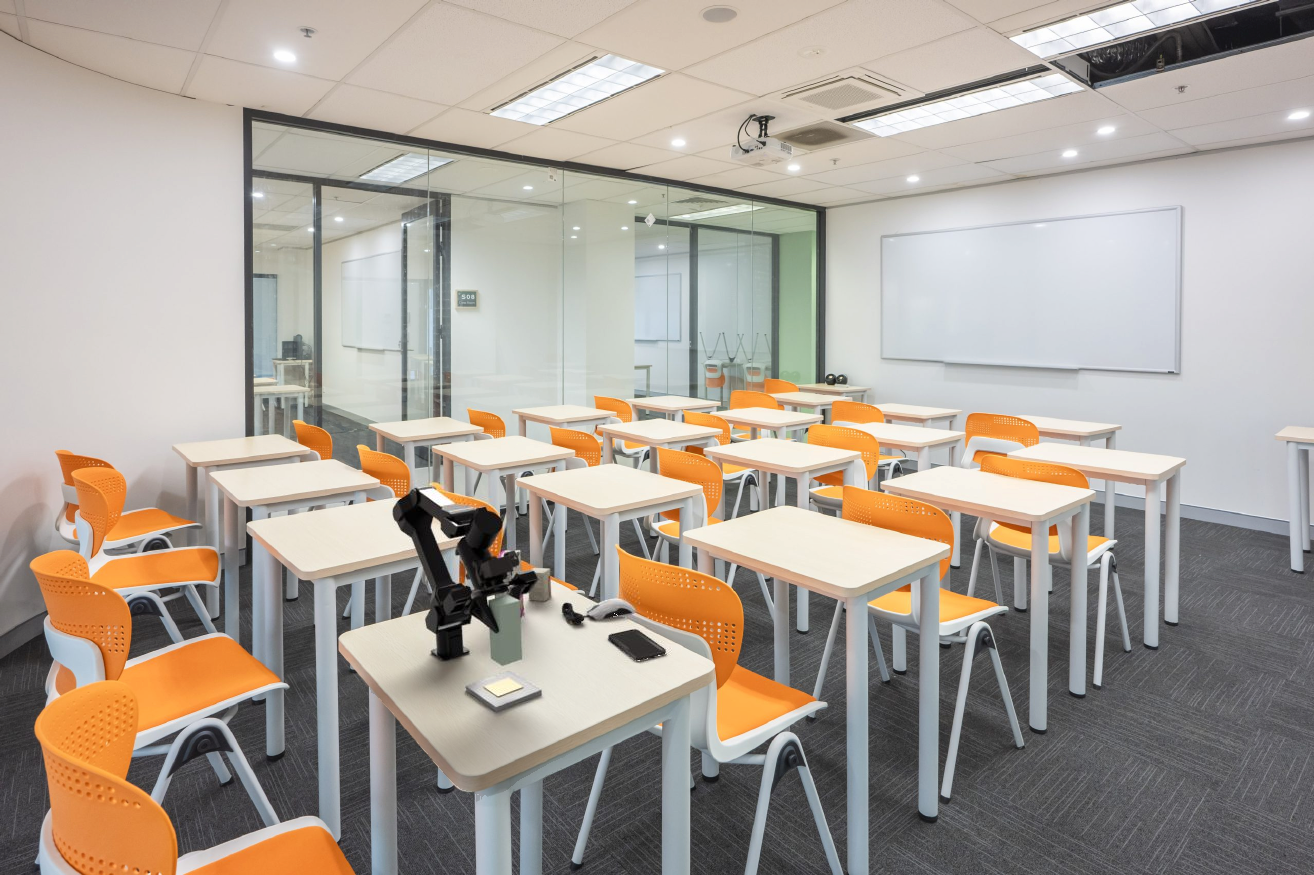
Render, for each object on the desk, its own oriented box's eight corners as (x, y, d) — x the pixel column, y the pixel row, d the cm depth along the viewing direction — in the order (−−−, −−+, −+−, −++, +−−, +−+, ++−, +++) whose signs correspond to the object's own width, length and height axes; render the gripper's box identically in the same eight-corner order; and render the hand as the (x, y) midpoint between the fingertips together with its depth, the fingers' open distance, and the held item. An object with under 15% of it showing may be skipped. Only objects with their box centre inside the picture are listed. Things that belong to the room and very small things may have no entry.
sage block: (490, 658, 144) (488, 600, 142) (510, 652, 146) (508, 594, 145) (502, 666, 140) (499, 606, 139) (522, 659, 143) (519, 600, 142)
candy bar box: (505, 611, 188) (502, 549, 186) (524, 611, 188) (521, 549, 186) (494, 628, 177) (491, 563, 175) (515, 628, 177) (512, 562, 175)
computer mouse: (640, 617, 183) (640, 602, 183) (570, 628, 177) (569, 613, 176) (628, 604, 192) (627, 590, 192) (560, 614, 186) (560, 599, 186)
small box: (552, 596, 199) (550, 568, 198) (545, 601, 195) (544, 573, 194) (535, 594, 200) (534, 567, 199) (528, 600, 196) (526, 571, 195)
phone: (636, 628, 173) (667, 650, 160) (636, 633, 173) (667, 655, 160) (606, 635, 169) (636, 658, 156) (606, 639, 170) (636, 663, 157)
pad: (465, 690, 145) (465, 684, 145) (510, 674, 152) (509, 669, 152) (496, 712, 136) (496, 706, 136) (541, 694, 143) (541, 688, 143)
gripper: (446, 549, 137) (477, 621, 130) (532, 531, 149) (564, 596, 143) (430, 579, 144) (459, 650, 137) (513, 560, 156) (543, 623, 149)
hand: (508, 629), depth 141 cm, fingers closed on sage block, 4 cm apart
